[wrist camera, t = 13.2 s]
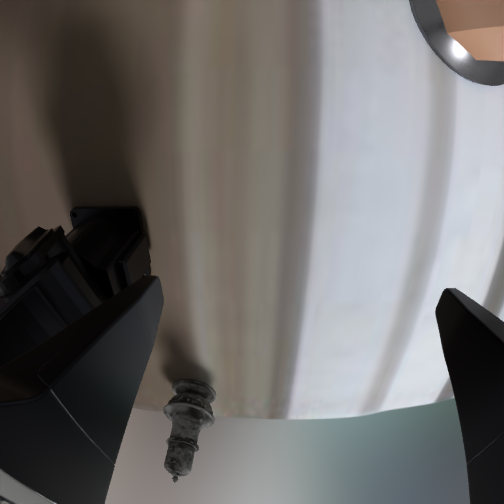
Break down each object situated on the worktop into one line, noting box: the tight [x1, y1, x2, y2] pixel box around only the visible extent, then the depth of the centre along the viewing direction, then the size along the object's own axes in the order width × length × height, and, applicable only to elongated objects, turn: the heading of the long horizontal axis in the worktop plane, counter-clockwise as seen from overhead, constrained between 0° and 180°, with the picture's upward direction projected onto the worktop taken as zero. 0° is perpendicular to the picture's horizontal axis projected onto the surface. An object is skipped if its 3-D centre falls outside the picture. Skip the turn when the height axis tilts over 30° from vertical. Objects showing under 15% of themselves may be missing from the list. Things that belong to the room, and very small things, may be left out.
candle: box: [409, 0, 504, 86], centre depth 10 cm, size 11×11×5 cm
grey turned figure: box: [163, 379, 216, 482], centre depth 29 cm, size 6×6×12 cm
